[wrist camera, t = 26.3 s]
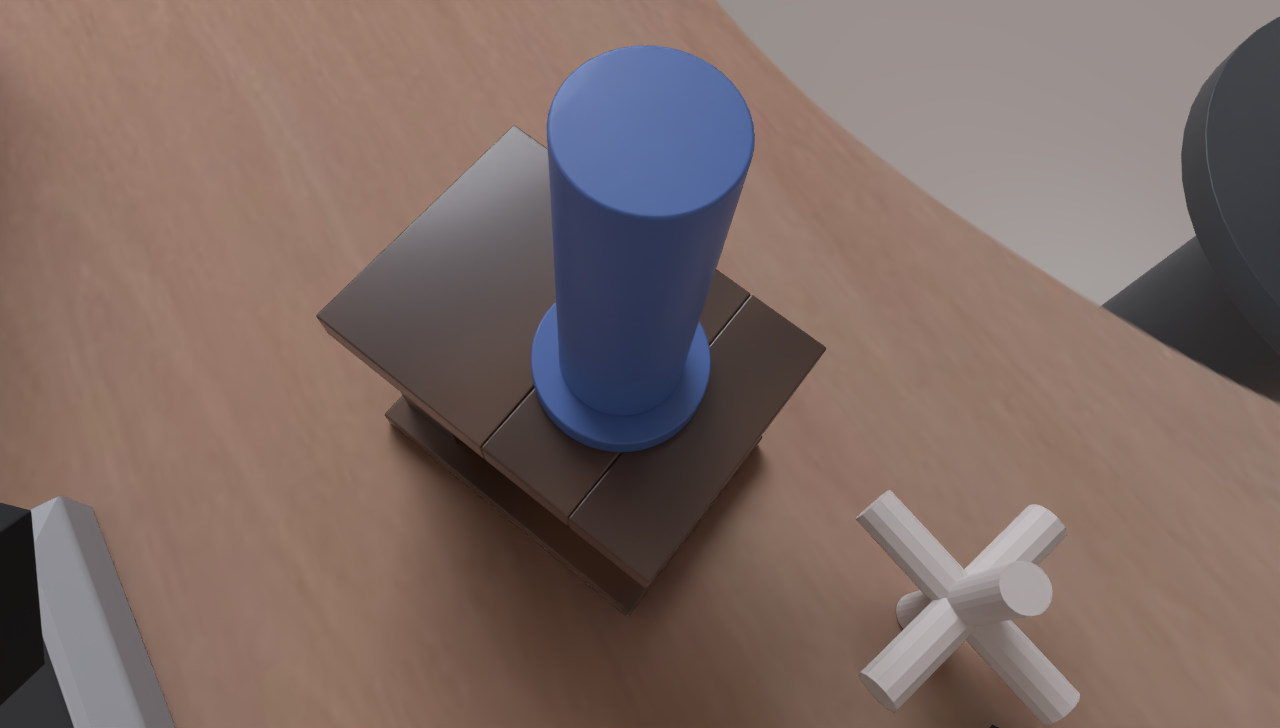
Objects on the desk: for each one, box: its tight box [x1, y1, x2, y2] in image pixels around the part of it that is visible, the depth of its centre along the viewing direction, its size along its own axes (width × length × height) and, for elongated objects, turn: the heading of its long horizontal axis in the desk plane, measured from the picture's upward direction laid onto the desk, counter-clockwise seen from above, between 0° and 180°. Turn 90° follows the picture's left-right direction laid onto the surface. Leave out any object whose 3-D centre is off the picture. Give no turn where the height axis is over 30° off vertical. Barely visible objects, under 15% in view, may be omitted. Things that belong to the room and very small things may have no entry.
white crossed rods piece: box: [856, 490, 1080, 725], centre depth 33 cm, size 10×10×10 cm
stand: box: [317, 126, 826, 616], centre depth 34 cm, size 14×10×12 cm
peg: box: [531, 46, 755, 452], centre depth 25 cm, size 6×6×19 cm
